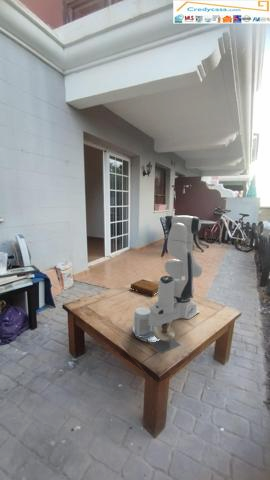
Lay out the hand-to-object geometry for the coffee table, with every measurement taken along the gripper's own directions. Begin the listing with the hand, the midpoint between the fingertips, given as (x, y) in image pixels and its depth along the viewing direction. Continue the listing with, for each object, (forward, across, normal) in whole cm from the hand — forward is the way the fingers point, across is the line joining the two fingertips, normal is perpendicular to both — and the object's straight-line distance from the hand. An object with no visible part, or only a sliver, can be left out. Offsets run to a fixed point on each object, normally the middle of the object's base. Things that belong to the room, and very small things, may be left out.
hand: (164, 329), depth 121 cm
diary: (+11, -38, -66) cm, 77 cm away
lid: (+3, 0, 0) cm, 3 cm away
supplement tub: (+8, +6, -12) cm, 16 cm away
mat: (+8, +1, 0) cm, 8 cm away
